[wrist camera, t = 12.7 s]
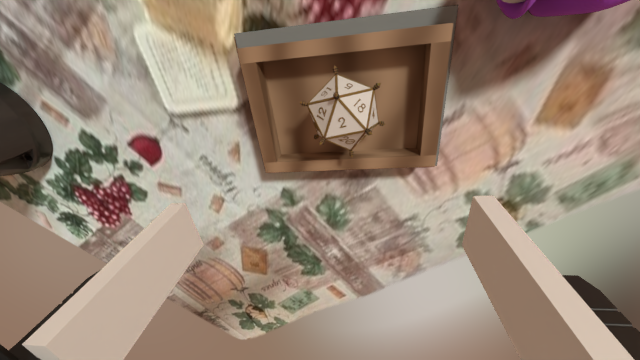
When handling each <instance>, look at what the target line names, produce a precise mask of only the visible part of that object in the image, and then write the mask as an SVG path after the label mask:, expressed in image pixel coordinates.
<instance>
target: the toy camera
mask: <svg viewBox="0 0 640 360" xmlns="http://www.w3.org/2000/svg"><path fill="white" fill-rule="evenodd" d="M496 1H497V4H498V6H499V7H500V9H501V11H502V12H503V13H504V14H505V15H506V16H507V17H509V18H511V19H516V18H519V17H521V16H522V15H523V14H524V13H525V12H526V11H527V10H529V12H530V13H531V14H532V15H534V16H539V17H547V16H562V15H573V14H583V13H591V12H597V11H601V10H605V9H608V8H611V7H614V6H617V5H619V4H622V3H625V2H627V1H630V0H496Z"/></svg>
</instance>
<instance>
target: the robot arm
mask: <svg viewBox="0 0 640 360" xmlns="http://www.w3.org/2000/svg"><path fill="white" fill-rule="evenodd" d="M51 154H52V145H51V140H50V137H49V134H48V132H47V130H46V128H45V126H44V124H43V123H42V121H41V120H40V118H39V117H38V115H37V114H36V113H35V112H34V110H33V109H32V108H31V107H30V106H29V105H28V104H27V103H26V102H25V101H24V100H23V99H22V98H21V97H20V96H19V95H17V94H16V93H15V92H14V91H12V90H11V89H10V88H8V87H7V86H5V85H3V84H2V83H0V176H6V175H13V174H20V173H25V172H28V171H31V170H33V169H36V168H38V167H41V166H43V165H45V164H46V163H47V162H48V161H49V159H50V157H51ZM203 245H204V244H203V242H202V240H201V238H200V235H199V233H198V231H197V229H196V226H195V224H194V222H193V220H192V217H191V215H190V213H189V210H188V208H187V206H186V204H185V203H171V204H170V205H169V206H168V207H167V208H166V209H165V210H164V211H163V212H162V213H161V214H160V215H158V216H157V217H156V218H155V219H154V220H153V221H152V222H151V223H150V224H149V225H148V226H147V227H146V228H145V229H144V230H143V231H142V232H140V233H139V234H138V235H137V236H136V237H135V238H134V239H133V240H132V241H131V242H130V243H129V244H128V245H127V246H126V247H125V248H124V249H122V250H121V251H120V252H119V253H118V254H117V255H116V256H115V257H114V258H113V259H112V260H111V261H110V262H109V263H108V264H107V265H105V267H103V268H102V269H101V270H99V271H98V272H96V273H95V274H93V275H92V276H90V277H89V278H87V279H86V280H85V281H84V282H83V283H82V284H81V285H80V286H78V288H76V289H75V290H74V293H73V294H70V295H69V296H68V297H67V298H66V299H64V300H63V302H62V304H59V305H58V306H57V307H56V308H55V309H54V310H53V311H52V312H50V313H49V314H48V315H47V316H46V317H45V318H44V319H43V320H42V321H41V322H40V323H39V324H37V325H36V326H35V327H34V328H33V329H32V330H31V331H30V332H29V333H28V334H27V335H26V336H25V337H23V338H22V339H21V340H20V341H19V342H18V343H17V344H16V345H15V346H13V347H12V348H11V349H10V350H9V351H8V350H7V349H5V348H4V347H3V346H2V345H0V360H123V359H124V358H125V356H126V355H127V353H128V352H129V350H130V349H131V348H132V346H133V345H134V343H135V342H136V341H137V339H138V338H139V336H140V335H141V333H142V332H143V331H144V329H145V328H146V326H147V325H148V323H149V322H150V320H151V319H152V318H153V316H154V315H155V313H156V312H157V311H158V309H159V308H160V306H161V305H162V304H163V302H164V300H165V299H166V298H167V296H168V295H169V294H170V292H171V291H172V289H173V288H174V286H175V285H176V284H177V282H178V281H179V279H180V278H181V276H182V275H183V274H184V272H185V271H186V269H187V268H188V266H189V265H190V264H191V262H192V261H193V259H194V258H195V256H196V255H197V254H198V252H199V251H200V249H201V248H202V246H203ZM462 246H463V248H464V250H465V252H466V254H467V256H468V258H469V260H470V262H471V264H472V266H473V267H474V269H475V271H476V273H477V275H478V277H479V279H480V281H481V283H482V285H483V287H484V289H485V291H486V293H487V295H488V297H489V299H490V301H491V303H492V305H493V307H494V308H495V311H496V312H497V314H498V316H499V318H500V320H501V322H502V324H503V326H504V328H505V330H506V332H507V334H508V336H509V338H510V340H511V342H512V344H513V346H514V347H515V349H516V351H517V353H518V355H519V357H520V359H521V360H640V332H639V331H638V330H637V329H636V328H633V327H632V324H631V323H630V321H628V319H627V318H626V317H624V315H623V314H622V313H621V312H618V311H617V308H616V307H615V306H614V305H613V304H612V303H611V302H610V301H609V300H608V298H607V297H606V296H605V295H604V294H603V293H602V292H601V291H600V290H598V289H597V288H595V287H594V286H592V285H591V284H590V283H588V282H587V281H585V280H584V279H582V278H581V277H579V276H568V275H567V276H566V275H561V274H560V273H559V271H558V270H557V269H556V268H555V267H554V266H553V264H552V263H551V262H550V261H549V260H548V259H547V257H545V255H544V254H543V253H542V252H541V250H540V249H539V248H538V247H537V246H536V245H535V243H534V242H533V241H532V240H531V239H530V238H529V237H528V235H527V234H526V233H525V232H524V231H523V230H522V228H521V227H520V226H519V225H518V224H517V223H516V221H515V220H514V219H513V218H512V217H511V216H510V214H509V213H508V212H507V211H506V210H505V209H504V207H503V206H502V205H501V204H500V203H499V202H498V200H497V199H496V198H495V197H494V196H473V199H472V204H471V208H470V213H469V217H468V221H467V226H466V230H465V235H464V239H463V243H462Z"/></svg>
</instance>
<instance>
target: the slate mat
mask: <svg viewBox="0 0 640 360" xmlns="http://www.w3.org/2000/svg"><path fill="white" fill-rule="evenodd" d="M457 11H458V5H453V6H446V7H438V8H430V9H422V10H415V11H407V12H399V13H391V14H384V15H376V16H368V17H360V18H353V19H345V20H337V21H329V22H321V23H314V24H306V25H298V26H290V27H283V28H275V29H267V30H259V31H252V32H244V33H236V34H234V35H235V39H236V44H237V48H245V47H253V46H262V45H270V44H279V43H287V42H295V41H304V40H312V39H320V38H329V37H337V36H346V35H354V34H362V33H371V32H379V31H388V30H396V29H404V28H413V27H421V26H430V25H438V24H447V23H453V30H452V38H451V46H450V54H449V61H448V69H447V77H446V85H445V92H444V100H443V108H442V116H441V123H440V131H439V139H438V147H437V154H436V162H435V166H437V161H438V154H439V146H440V139H441V131H442V124H443V116H444V108H445V101H446V93H447V86H448V78H449V71H450V63H451V56H452V48H453V41H454V33H455V26H456V18H457Z"/></svg>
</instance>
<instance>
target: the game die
mask: <svg viewBox="0 0 640 360" xmlns="http://www.w3.org/2000/svg"><path fill="white" fill-rule="evenodd" d="M333 71H334V74H335V75H334V76H333V77H332V78H331V79H330V80H329V81H328V82H327V83H326V84H325V86H324V87H323V88H322V89H321V90H320V91H319V92H318V93H317V94H316V95H315V96H314V97H313V98H312V99H311V100H310V101H309V102H308V103H306V102H304V101H302V102H299V103H300V104H301V105H302V106H307V107H308V110H309V113H310V116H311V118H312V121H313V124H314V126H315V129H316V132H317V134H315V135H314V139H318V138H319V137H321V138H322V139H321V140H320V141H319V142H320V145H321V144H324V143H325V141H328V142H330V143H333V144H335V145H337V146H340V147H342V148H345V149H347V150H349V155H350V156H351V157H353V155H354V154H353V153H354V152H353V151H352V150H353V149H354V148H355V147H356V146H357V145H358V144H359V143H360V142H361V141H362V140H363V139H364V138H365V137H366V136H367V135H368V136H369V135H372V130H373V129H374V128H375V127H376V126H377V125H378V124H379V125H380V126H383V125H386V124H385V123H384V122H382V121H379V120H378V112H377V104H376V97H375V90H376V89H378V88H380V85H381V83H376V85H374V87H370V86H368V85H365V84H362V83H360V82H357V81H355V80H352V79H349V78H347V77H344V76H342V75H339V74H338V68H337V67H336V66H335V65H334V68H333Z"/></svg>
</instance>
